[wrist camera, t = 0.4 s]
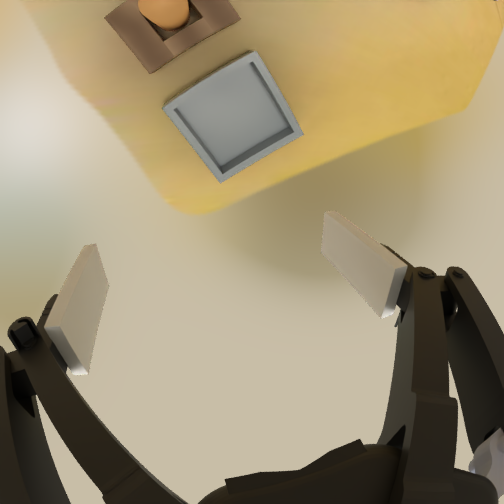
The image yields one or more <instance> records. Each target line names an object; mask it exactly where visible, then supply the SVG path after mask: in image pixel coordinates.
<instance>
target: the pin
mask: <svg viewBox="0 0 504 504" xmlns="http://www.w3.org/2000/svg"><path fill="white" fill-rule="evenodd" d="M138 7H139V10H140V12H141V13H142V14H143V15H144V16H145V17H146V18H148V19H149V20H151V21H152V22H154V23H155V24H156V25H158V26H159V27H161V28H162V29H164V30H166V31H177V30H180V29H182V28H183V27H184V26H186V24H187V23H188V21H189V18H190V14H189V7H188V0H138Z"/></svg>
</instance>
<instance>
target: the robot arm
mask: <svg viewBox="0 0 504 504" xmlns="http://www.w3.org/2000/svg"><path fill="white" fill-rule="evenodd" d="M321 253H322V254H323V255H324V256H325V257H326V258H327V260H328V261H329V262H330V263H331V264H332V265H333V266H334V267H335V268H336V269H337V270H338V271H339V272H340V273H341V274H342V276H343V277H344V278H345V279H346V280H347V281H348V282H349V283H350V284H351V285H352V287H353V288H354V289H355V290H356V291H357V292H358V293H359V294H360V296H361V297H362V298H363V299H364V300H365V301H366V302H367V303H368V304H369V306H370V307H371V308H372V309H373V310H374V311H375V312H376V314H377V315H378V316H379V317H380V318H384V317H387V316H390V315H393V313H394V310H395V306H396V304H397V305H398V306H399V307H400V308H401V310H400V313H399V316H398V318H397V321H396V324H395V327H397V325H398V333H397V343H396V353H395V361H394V370H393V377H392V383H391V390H390V396H389V402H388V407H387V412H386V417H385V422H384V426H383V430H382V433H381V436H380V438H379V440H378V442H377V444H366V445H363V443H362V442H361V440H360V439H358V440H356V441H353V442H351V443H349V444H346V445H344V446H341V447H339V448H336V449H334V450H331V451H329V452H328V453H326V454H325V455H323V456H322V457H320V458H319V459H317V460H315V461H314V462H312V463H311V464H309V465H307V466H306V467H304V468H302V469H300V470H294V471H279V472H258V473H254V474H249V475H244V476H239V477H234V478H228V479H225V482H226V485H225V486H223V487H220V488H218V489H217V490H215V491H213V492H211V493H210V494H208V495H207V496H205V497H204V498H203V499H202V500H201V501H200V502H199V503H198V504H498V499H499V498H500V497H501V496H502V495H503V494H504V334H503V332H502V330H501V328H500V326H499V324H498V322H497V321H496V319H495V317H494V315H493V313H492V312H491V310H490V308H489V307H488V305H487V303H486V302H485V300H484V298H483V297H482V295H481V293H480V292H479V290H478V289H477V287H476V286H475V284H474V282H473V281H472V279H471V278H470V276H469V275H468V274H467V273H466V272H465V271H464V270H463V269H462V268H459V267H449V268H448V269H447V272H446V275H445V276H437V275H436V273H434V271H432V270H430V269H428V268H425V267H416V268H415V267H413V266H412V265H411V264H410V263H408V262H407V261H406V260H405V259H403V258H402V257H400V256H399V255H398V254H397V253H395V251H393V250H392V249H391V248H389V247H388V246H385V245H383V244H381V243H379V242H377V241H376V240H375V239H373V238H372V237H371V236H369V235H368V234H367V233H365V232H364V231H363V230H361V229H360V228H359V227H357V226H356V225H355V224H353V223H352V222H350V221H349V220H348V219H346V218H345V217H344V216H342V215H341V214H339V213H338V212H337V211H329V212H325V214H324V226H323V238H322V249H321ZM108 288H109V284H108V281H107V278H106V275H105V271H104V268H103V265H102V262H101V259H100V256H99V252H98V249H97V245H96V244H91V245H86V246H84V247H83V249H82V250H81V252H80V254H79V256H78V258H77V259H76V261H75V263H74V265H73V267H72V269H71V271H70V273H69V274H68V276H67V278H66V280H65V282H64V285H63V286H62V288H61V290H60V292H59V294H55V295H53V296H52V297H51V299H50V300H49V301H48V302H47V304H46V306H45V308H44V309H45V310H44V311H43V313H42V316H41V317H40V319H39V322H38V323H37V326H36V325H35V324H34V322H33V320H32V319H31V318H30V317H21V318H19V319H17V320H16V321H15V322H13V323H12V325H11V326H10V327H9V329H8V337H9V339H10V340H11V342H12V343H13V345H14V346H15V348H16V349H17V350H15V351H12V352H10V353H6V352H5V350H4V349H3V347H1V346H0V504H71V503H70V501H69V499H68V496H67V494H66V492H65V490H64V487H63V485H62V482H61V480H60V478H59V475H58V472H57V470H56V467H55V464H54V461H53V459H52V456H51V453H50V450H49V446H48V443H47V440H46V436H45V433H44V429H43V426H42V422H41V418H40V414H39V409H38V405H37V401H36V395H37V396H38V398H39V400H40V402H41V403H42V405H43V407H44V409H45V411H46V413H47V414H48V416H49V418H50V420H51V422H52V423H53V425H54V427H55V428H56V430H57V431H58V433H59V435H60V436H61V438H62V440H63V441H64V443H65V444H66V446H67V447H68V448H69V450H70V451H71V453H72V454H73V456H74V457H75V459H76V460H77V462H78V463H79V464H80V466H81V467H82V468H83V470H84V471H85V472H86V474H87V475H88V476H89V477H90V479H91V480H92V481H93V482H94V483H95V485H96V486H97V487H98V488H99V490H100V491H101V492H102V494H103V497H102V498H103V500H104V502H105V503H106V504H188V503H187V502H185V501H184V500H183V499H181V498H180V497H179V496H178V495H176V494H175V493H174V492H172V491H171V490H170V489H169V488H167V487H166V486H165V485H164V484H163V483H162V482H160V481H159V480H158V479H157V478H156V477H155V476H154V475H153V474H151V473H150V472H149V471H148V470H147V469H146V468H145V467H144V466H143V465H141V464H140V463H139V461H138V460H137V459H135V458H134V456H133V455H132V454H130V453H129V451H128V450H127V449H126V448H125V447H124V446H123V445H122V444H121V443H120V442H119V441H118V440H117V438H116V437H115V436H114V435H113V434H112V433H111V432H110V431H109V429H108V428H107V427H106V426H105V425H104V424H103V423H102V421H101V420H100V419H99V418H98V416H97V415H96V414H95V413H94V411H93V410H92V409H91V408H90V406H89V405H88V404H87V402H86V401H85V400H84V398H83V397H82V396H81V395H80V393H79V392H78V390H77V389H76V387H75V386H74V385H73V383H72V382H71V380H70V379H69V377H68V376H67V374H66V371H67V367H69V369H70V370H71V372H72V373H73V375H86V374H87V375H88V374H89V369H90V363H91V358H92V353H93V348H94V343H95V339H96V334H97V330H98V326H99V322H100V317H101V313H102V310H103V306H104V302H105V298H106V295H107V291H108ZM457 307H458V310H457V312H456V309H457ZM448 361H449V364H450V368H451V371H452V374H453V378H454V381H455V385H456V388H457V392H458V396H459V400H460V404H461V408H462V413H463V417H464V422H465V427H466V432H467V436H468V440H469V443H470V446H471V449H472V452H473V454H474V459H473V460H472V461H471V462H470V464H469V471H470V472H468V471H464V470H460V469H457V468H454V463H455V454H456V442H457V426H458V403H457V400H456V398H451V397H450V396H449V367H448Z"/></svg>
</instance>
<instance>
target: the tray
mask: <svg viewBox="0 0 504 504" xmlns="http://www.w3.org/2000/svg"><path fill="white" fill-rule="evenodd" d="M162 109H163V111H164V112H165V113H166V114H167V116H168V117H169V118H170V119H171V121H172V122H173V123H174V124H175V126H176V127H177V128H178V130H179V131H180V132H181V133H182V135H183V136H184V137H185V138H186V140H187V141H188V142H189V144H190V145H191V146H192V147H193V149H194V150H195V151H196V153H197V154H198V155H199V156H200V158H201V159H202V160H203V162H204V163H205V164H206V166H207V167H208V168H209V169H210V171H211V172H212V173H213V175H214V176H215V177H216V179H217V180H218V181H219V182H220V183H222V182H224V181H225V180H227V179H228V178H230V177H232V176H233V175H235V174H236V173H238V172H240V171H241V170H243V169H245V168H246V167H248V166H250V165H251V164H253V163H255V162H256V161H258V160H260V159H261V158H263V157H265V156H267V155H268V154H270V153H272V152H274V151H275V150H277V149H279V148H281V147H282V146H284V145H286V144H288V143H290V142H291V141H293V140H295V139H297V138H299V137H300V136H302V135H304V134H303V132H302V130H301V128H300V126H299V124H298V122H297V120H296V118H295V117H294V115H293V113H292V111H291V109H290V107H289V106H288V104H287V102H286V100H285V98H284V97H283V95H282V93H281V91H280V89H279V88H278V86H277V84H276V83H275V81H274V79H273V77H272V76H271V74H270V72H269V71H268V69H267V67H266V66H265V64H264V63H263V61H262V59H261V58H260V56H259V54H258V53H257V51H249V52H247V53H245V54H243V55H241V56H239V57H238V58H236V59H234V60H232V61H230V62H229V63H227V64H225V65H223V66H222V67H220V68H218V69H216V70H215V71H213V72H211V73H210V74H208V75H207V76H205V77H203V78H202V79H200V80H199V81H197V82H195V83H194V84H192V85H191V86H189V87H188V88H186V89H185V90H183V91H182V92H180V93H179V94H177V95H176V96H175V97H173V98H172V99H170V100H169V101H168V102H166V103H165V104H164V106H163V107H162Z"/></svg>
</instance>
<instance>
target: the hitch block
mask: <svg viewBox="0 0 504 504" xmlns="http://www.w3.org/2000/svg"><path fill="white" fill-rule="evenodd" d="M188 3H189V4H190V5H191V7H192V8H193V9H194V11H195V12H196V13H197V15H198V16H199V17H200V18H201V19H199V20H198V21H196V22H194V23H192V24H191V25H189V26H187V27H186V28H184V29H182V30H181V31H179V32H178V33H176V34H174V35H173V36H171V37H170V38H168V39H167V40H164V39H163V38H162V36H161V35H160V34H159V33H158V31H157V30H156V29H155V28H154V26H153V25H152V24H151V23H150V21H149V20H148V19H147V18H146V17H145V16H144V15H143V14H142V13H141V12H140V10H139V7H138V0H127V1H125V2H124V3H123V4H121V5H120V6H118V7H117V8H116V9H114V10H113V11H112V12H111V13H109V14H108V15H107V16H106V17H104V18H105V19H106V20H107V22H108V23H109V24H110V25H111V26H112V28H113V29H114V30H115V31H116V32H117V34H118V35H119V36H120V37H121V39H122V40H123V41H124V42H125V43H126V45H127V46H128V47H129V48H130V50H131V51H132V52H133V53H134V55H135V56H136V57H137V58H138V60H139V61H140V62H141V63H142V65H143V66H144V67H145V68H146V70H147V71H148V72H149V73H150V74H151V73H153V72H155V71H156V70H158V69H159V68H161V67H162V66H163V65H165V64H166V63H168V62H169V61H171V60H172V59H174V58H175V57H177V56H178V55H180V54H181V53H183V52H184V51H186V50H188V49H189V48H191V47H192V46H194V45H196V44H197V43H199V42H201V41H202V40H204V39H206V38H208V37H209V36H211V35H213V34H215V33H217V32H218V31H220V30H222V29H224V28H226V27H228V26H230V25H232V24H234V23H236V22H237V21H239V20H240V19H241V18H240V17H239V15H238V14H237V12H236V11H235V10H234V8H233V7H232V6H231V4H230V3H229V1H228V0H188Z"/></svg>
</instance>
